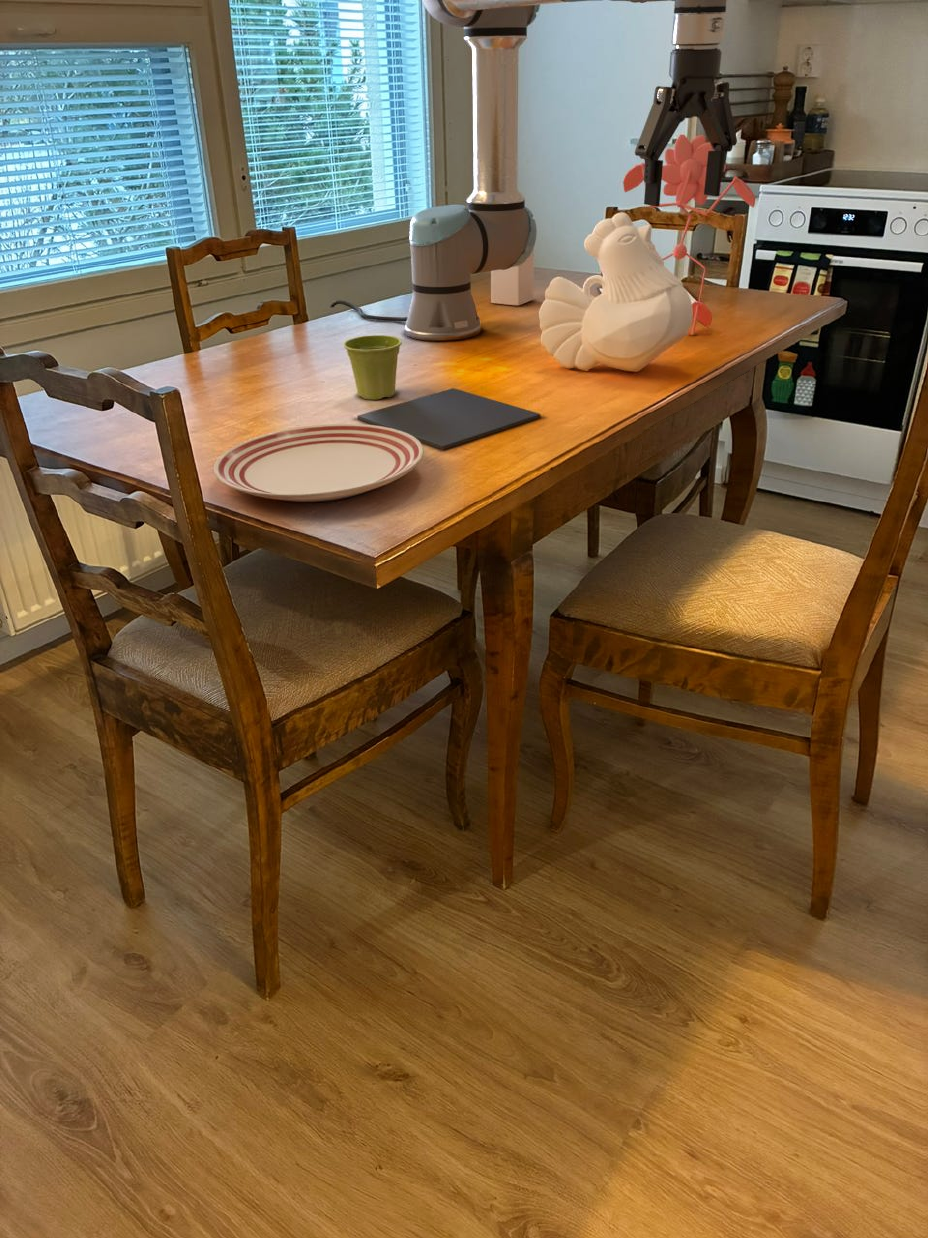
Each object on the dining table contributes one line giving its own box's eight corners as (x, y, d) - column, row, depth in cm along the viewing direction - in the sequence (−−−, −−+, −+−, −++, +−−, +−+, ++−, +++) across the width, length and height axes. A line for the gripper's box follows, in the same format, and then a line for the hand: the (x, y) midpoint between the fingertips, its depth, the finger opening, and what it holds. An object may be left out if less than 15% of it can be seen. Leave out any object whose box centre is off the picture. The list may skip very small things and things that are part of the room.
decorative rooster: (717, 327, 166) (649, 200, 166) (690, 330, 153) (616, 192, 152) (600, 402, 180) (537, 285, 180) (566, 410, 167) (498, 284, 167)
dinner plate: (171, 492, 124) (166, 468, 122) (307, 431, 144) (305, 409, 142) (339, 536, 111) (336, 509, 110) (463, 461, 131) (462, 438, 130)
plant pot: (396, 404, 154) (393, 350, 150) (340, 402, 156) (335, 348, 152) (410, 387, 162) (408, 335, 158) (357, 385, 164) (353, 334, 160)
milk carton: (518, 306, 215) (518, 215, 206) (491, 303, 218) (490, 213, 209) (533, 300, 220) (534, 211, 211) (506, 297, 224) (506, 209, 214)
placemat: (357, 419, 148) (357, 415, 148) (453, 391, 160) (453, 387, 160) (442, 450, 135) (442, 446, 135) (540, 417, 147) (540, 413, 147)
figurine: (734, 340, 185) (758, 137, 167) (606, 329, 195) (616, 136, 177) (750, 322, 197) (774, 131, 179) (629, 313, 207) (640, 131, 189)
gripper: (653, 51, 135) (642, 212, 147) (771, 44, 147) (752, 193, 158) (617, 50, 140) (608, 206, 152) (734, 43, 152) (718, 188, 164)
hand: (682, 200), depth 155 cm, fingers open, 13 cm apart
